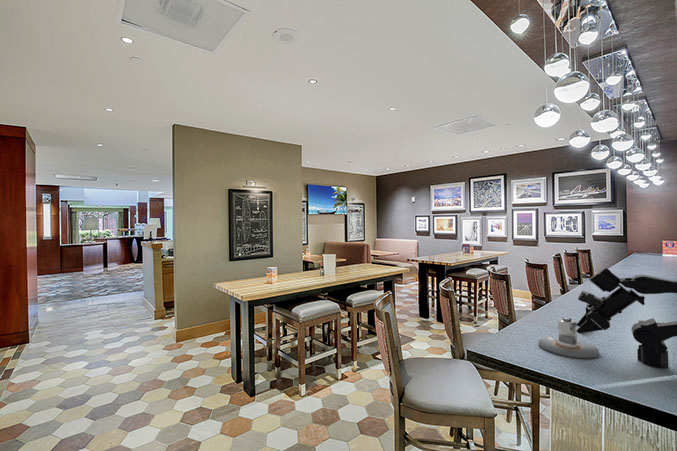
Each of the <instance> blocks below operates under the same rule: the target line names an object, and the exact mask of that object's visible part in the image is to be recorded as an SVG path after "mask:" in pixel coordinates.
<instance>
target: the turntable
mask: <svg viewBox="0 0 677 451" xmlns="http://www.w3.org/2000/svg"><path fill="white" fill-rule="evenodd" d="M556 338H558V336H547V337H542V338H540V339H539V340H538V345H539V347H540V348H541V349H543V350H545V351H547V352H549V353H551V354H555V355H559V356H563V357H568V358H575V359H594V358H595V359H596V358H597V357H599V356H600V350H599V349H598V347H597V346H595V345H592V344H591V343H588V342H585V341H582V340H578V339H577V341H579V342H580V343H581V348H580V349H568V348H563V347H560V346H558V345H556V344H555V339H556Z"/></svg>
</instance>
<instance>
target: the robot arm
mask: <svg viewBox="0 0 677 451" xmlns="http://www.w3.org/2000/svg"><path fill="white" fill-rule="evenodd" d="M588 280H589V282H591V283H592V284H593V285H595V287H597V288H598V289H599V290H601V291H602V292H603V293H604V292H607V293H610V292H612V293H610V294H608V295H607V296H602V297H599V296H596V295H595V294H592V293H591V292H587V291H585V290H581V292H580V294H579V295H578V297H577V300H578V301H580V302H582V303H585V304H586V306H585V313H584V315H583V316H582V317H581V318H580V319H579V320H578V321H577V327H578V328H577V331H576V332H577V334H578V335H579V334H580V335H581V333H584V334H586V333H590V332H598V331H607V330H608V329H610V328H611V320H612V318H614V316H617V315H618V314H622V313H623V311H624V310H625V309H627V308H629V306H632V305H634V304H635V303H636V302H638V303H640V305H642V306H645V299H646V297H645V296H644V295H658V294H660V295H661V294H677V280H674V279H673V280H670V279H665V278H662V277H661V278H660V277H657V276H653V275H648V274H643V273H642V274H641V273H640V274H636V275H634V276H632V277H623V278H619V277H618V276H617V275H615V274H614V273H613V272H612V271H611V270H610V269H609V268H608V267H604V268H603V269H601V270H600V271H598V272H596V273H595V274H594V275H592V276H591V277H590V278H589V279H588ZM626 288H627V289H626ZM615 289H616V290H615ZM638 293H639V294H638ZM640 294H641V295H640ZM631 333H632V336H633V338H634V340H635V341H636V342H637V343H638V348H637V350H636V351H637V352H636V353H637V361H639V362H641V364H643V365H645V366H648V367H652V368H657V369H660V370H664V369H669V351H668V346H667V344H666V343H665V341H667V340H669V339H671V338H675V337H677V320H675V321H670V322H656V320H655V318H650V319H646V320H638V322H636V323H634V324H633V325H632V326H631Z"/></svg>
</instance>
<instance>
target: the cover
mask: <svg viewBox="0 0 677 451" xmlns="http://www.w3.org/2000/svg"><path fill="white" fill-rule="evenodd" d="M577 323H578V321H576V320H573V319H572V318H571V317H567V316H566V317H562V318H558V319H557V334H558V335H557V337H558V338H556V339H555V344H556V345H558V346H560V347H563V348H568V349H580V348H581V343H580V342H579V341H580V340H578V333H577V332H576V331H577V329H578V328H577V327H578V326H577ZM577 340H578V341H577Z"/></svg>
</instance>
